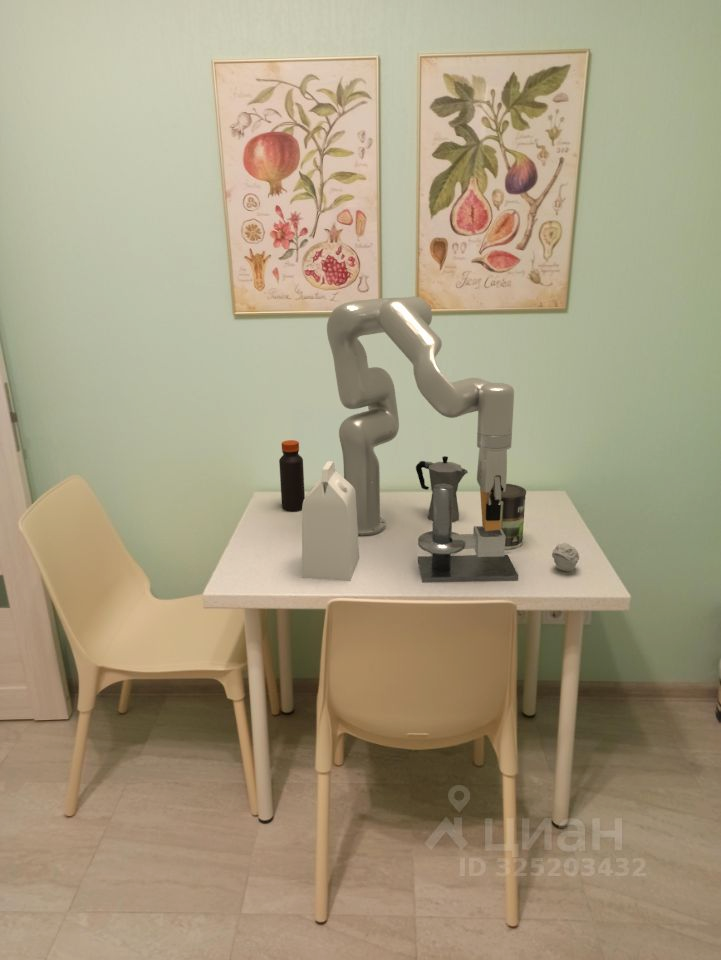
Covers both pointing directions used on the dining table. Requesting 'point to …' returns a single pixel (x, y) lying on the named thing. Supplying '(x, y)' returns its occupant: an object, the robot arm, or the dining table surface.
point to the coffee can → (513, 515)
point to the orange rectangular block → (486, 524)
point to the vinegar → (291, 477)
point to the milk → (330, 528)
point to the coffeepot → (442, 480)
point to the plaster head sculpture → (565, 557)
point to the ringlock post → (461, 548)
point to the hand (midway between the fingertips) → (490, 515)
